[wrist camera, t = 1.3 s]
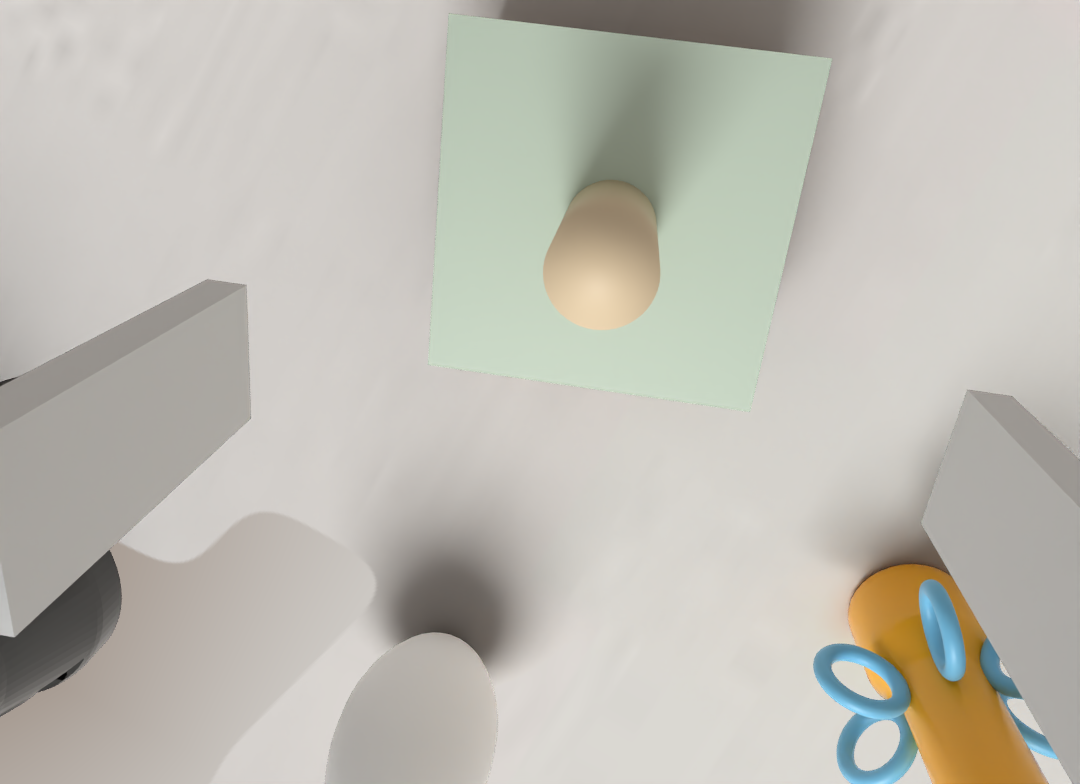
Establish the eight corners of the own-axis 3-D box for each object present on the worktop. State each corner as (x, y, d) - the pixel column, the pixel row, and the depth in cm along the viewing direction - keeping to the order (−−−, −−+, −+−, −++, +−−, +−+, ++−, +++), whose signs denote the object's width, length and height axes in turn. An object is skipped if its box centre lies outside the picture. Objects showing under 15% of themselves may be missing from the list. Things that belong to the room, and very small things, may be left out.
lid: (434, 354, 34) (376, 440, 27) (455, 15, 29) (390, 1, 21) (746, 400, 33) (776, 501, 26) (825, 58, 28) (891, 60, 21)
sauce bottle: (467, 578, 45) (365, 882, 28) (536, 681, 47) (478, 1019, 31) (353, 624, 47) (198, 933, 31) (424, 721, 49) (314, 1056, 33)
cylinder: (940, 472, 39) (1099, 698, 26) (1072, 604, 41) (1287, 880, 28) (747, 612, 44) (795, 869, 30) (875, 725, 46) (975, 1016, 32)
